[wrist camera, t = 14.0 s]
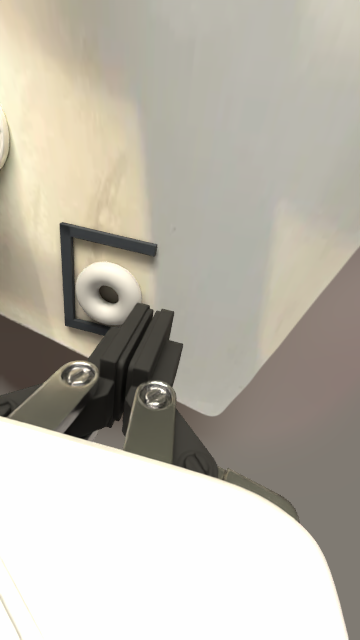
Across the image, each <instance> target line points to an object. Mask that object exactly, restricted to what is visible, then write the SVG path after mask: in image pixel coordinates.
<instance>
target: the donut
mask: <svg viewBox="0 0 360 640" xmlns="http://www.w3.org/2000/svg"><path fill="white" fill-rule="evenodd" d="M104 285H105V286H109V287H111V288H113V289H114V290H115V291H116V293H117V294H118V296H119V301H118V302H117V303H115V304H112V303H109V302H107V301H105V300H104V299H103V298H102V297H101V295H100V293H99V288H100V287H101V286H104ZM76 297H77V300H78V302H79V305H80V306H81V307H82V309H83V310H84V312H85V313H87V314H88V315H89V316H90V317H91V318H92V319H94V320H96V321H98V322H100V323H103V324H107V325H121V324H123V323H124V322H125V320H126V319H127V317H128V315H129V314H130V312H131V311H132V309H133V308H134V306H135V305H136V303H141V301H142V294H141V290H140V286H139V284H138V283H137V281H136V279H135V277H134V276H133V275H132V274H131V273H130V272H129V271H128V270H127V269H125V268H123V267H121V266H119V265H118V264H114V263H110V262H96V263H93V264H91V265H89V266H87V267H85V268H84V270H83V271H82V272H81V273H80V274H79V276H78V278H77V281H76Z"/></svg>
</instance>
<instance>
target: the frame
mask: <svg viewBox="0 0 360 640" xmlns="http://www.w3.org/2000/svg"><path fill="white" fill-rule="evenodd" d="M73 237H74V238H78V239H83V240H87V241H91V242H95V243H100V244H104V245H108V246H112V247H117V248H121V249H125V250H129V251H133V252H138V253H142V254H146V255H150V256H155V255H156V248H157V244H153V243H149V242H144V241H140V240H136V239H132V238H127V237H123V236H119V235H115V234H110V233H106V232H102V231H97V230H93V229H89V228H85V227H80V226H76V225H72V224H68V223H64V222H62V223H60V239H61V258H62V276H63V295H64V313H65V326H69V327H73V328H77V329H80V330H84V331H88V332H92V333H96V334H100V335H104V336H105V335H106V333H107V332H108V330H109V329H110V328H111V327H109V326H105V325H101V324H97V323H93V322H89V321H85V320H81V319H77V318H75V285H74V251H73Z"/></svg>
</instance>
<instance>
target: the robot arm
mask: <svg viewBox="0 0 360 640" xmlns="http://www.w3.org/2000/svg"><path fill="white" fill-rule="evenodd" d="M8 151H9V131H8V125H7V121H6V117H5V114H4V111H3V109H2V106H1V104H0V169H1V168H2V167H3V165H4V163H5V161H6V159H7V155H8ZM173 317H174V311H170V310H166V309H162V310H161V312H160V311H156V313H155V315H154V317H153V310H152V309H150V306H149V305H145V304H141V303H136V305H135V306H134V308H133V309H132V311H131V312H130V314H129V315H128V317H127V319H126V320H125V322H124V323H123V325H122V326H121V328H119V327H115V326H112V327H111V328H110V329H109V330H108V332H107V333H106V335H105V336H104V337H103V339H102V340H101V342H100V343H99V344H98V346H97V347H96V349H95V350H94V351H93V353H92V354H91V356H90V357H89V358H88V360H87V361H73V362H70V363H67V364H65V365H64V366H62V367H61V368H60V369H59V370H58V371H57V372H56V373H54V374H53V375H52V376H51V377H50V378H49V379H48V380H47V381H46V382H45V383H42V384H38V385H35V386H32V387H28V388H25V389H22V390H18V391H15V392H11V393H8V394H4V395H1V396H0V640H349V639H348V635H347V630H346V627H345V622H344V618H343V614H342V610H341V606H340V602H339V599H338V595H337V591H336V588H335V585H334V582H333V579H332V576H331V573H330V570H329V568H328V565H327V562H326V560H325V558H324V555H323V553H322V551H321V550H320V548H319V546H318V544H317V543H316V542H315V540H314V539H313V538H312V537H311V535H310V534H309V533H308V532H307V531H306V530H305V529H304V528H303V527H302V526H301V525H300V522H299V516H298V515H297V512H296V510H295V508H294V507H293V506H292V504H291V503H290V502H289V501H288V500H287V499H285V498H284V497H282V496H281V495H279V494H277V493H275V492H273V491H271V490H269V489H267V488H266V487H264V486H262V485H260V484H258V483H256V482H254V481H252V480H250V479H248V478H246V477H244V476H243V475H241V474H239V473H237V472H235V471H233V470H231V469H229V468H227V470H224V469H222V468H221V467H219V466H217V464H216V462H215V460H214V458H213V457H212V456H211V454H210V453H209V452H208V450H207V449H206V448H205V446H204V445H203V444H202V442H201V441H200V440H199V438H198V437H197V436H196V435H195V433H194V432H193V430H192V429H191V428H190V426H189V425H188V424H187V422H186V421H185V420H184V418H183V417H182V416H181V415H180V413H179V412H178V410H177V409H176V393H175V391H174V389H173V388H172V387H173V383H174V380H175V376H176V373H177V369H178V365H179V361H180V357H181V352H182V348H183V344H182V343H178V342H174V341H170V340H169V337H170V332H171V327H172V322H173ZM152 318H153V319H152ZM122 414H123V427H122V432H123V434H124V435H125V442H124V446H123V450H119V449H116V448H112V447H108V446H105V445H101V444H98V443H94V442H93V440H94V439H95V437H96V435H97V433H98V430H99V429H102V428H104V427H109V428H111V427H112V425H113V423H114V421H115V420H116V421H119V420H120V419H121V416H122Z"/></svg>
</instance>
